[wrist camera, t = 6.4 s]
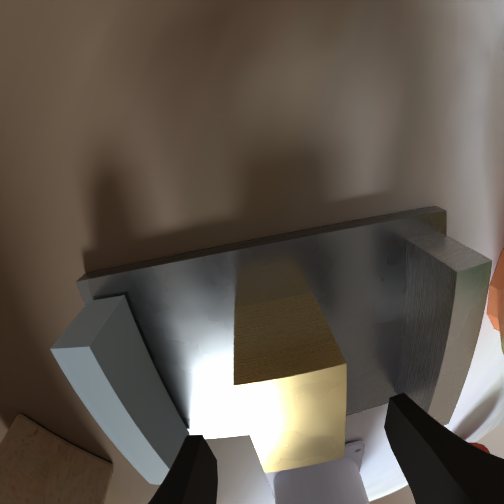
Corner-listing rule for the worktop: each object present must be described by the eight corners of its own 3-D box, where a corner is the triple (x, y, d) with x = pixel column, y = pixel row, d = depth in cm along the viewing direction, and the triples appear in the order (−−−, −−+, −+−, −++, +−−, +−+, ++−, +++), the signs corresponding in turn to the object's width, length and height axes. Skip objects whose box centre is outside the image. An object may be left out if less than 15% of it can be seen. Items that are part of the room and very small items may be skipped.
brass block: (321, 385, 15) (343, 457, 10) (258, 397, 15) (265, 473, 10) (312, 291, 13) (346, 363, 8) (234, 307, 13) (233, 386, 8)
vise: (419, 379, 17) (451, 429, 12) (162, 429, 17) (150, 487, 13) (435, 206, 13) (502, 233, 8) (85, 273, 13) (32, 324, 9)
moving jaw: (189, 433, 16) (183, 485, 12) (160, 434, 16) (150, 483, 12) (124, 295, 13) (89, 346, 9) (89, 301, 13) (50, 348, 9)
